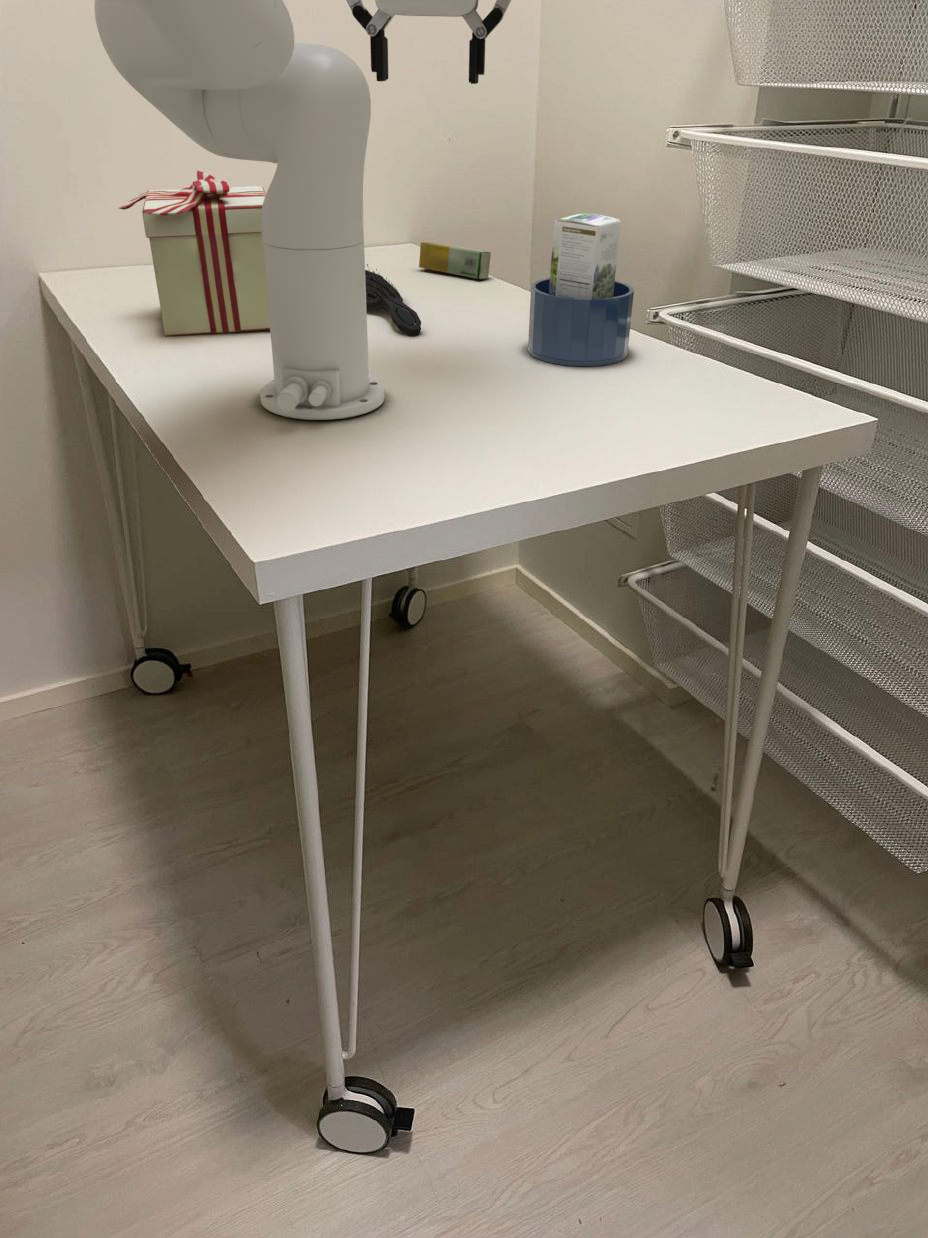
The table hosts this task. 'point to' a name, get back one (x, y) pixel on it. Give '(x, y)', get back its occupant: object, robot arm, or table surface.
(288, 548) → the table surface
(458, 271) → the medication box
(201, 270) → the gift box
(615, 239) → the syrup box
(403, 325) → the hairbrush
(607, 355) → the crock
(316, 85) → the robot arm
